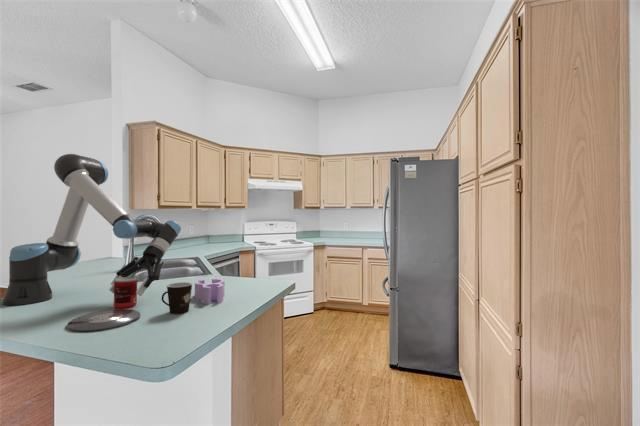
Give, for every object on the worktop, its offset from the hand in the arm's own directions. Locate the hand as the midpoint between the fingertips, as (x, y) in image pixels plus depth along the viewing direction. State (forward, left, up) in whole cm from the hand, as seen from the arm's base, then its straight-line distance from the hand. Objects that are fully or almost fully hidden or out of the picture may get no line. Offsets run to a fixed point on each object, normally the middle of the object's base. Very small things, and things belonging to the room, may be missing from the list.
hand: (124, 292), depth 121 cm
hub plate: (+9, -14, -6) cm, 17 cm away
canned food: (0, +1, -6) cm, 6 cm away
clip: (+23, +22, -6) cm, 32 cm away
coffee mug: (+23, +1, -6) cm, 24 cm away
